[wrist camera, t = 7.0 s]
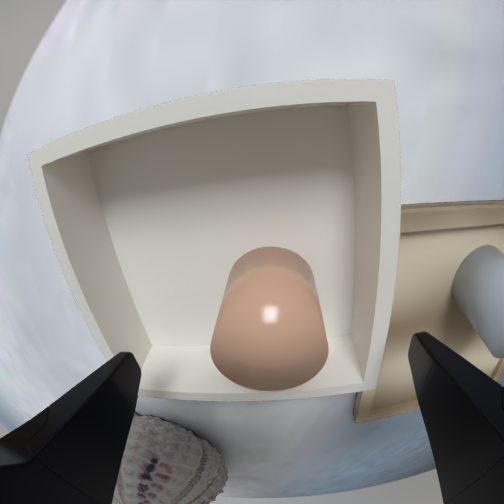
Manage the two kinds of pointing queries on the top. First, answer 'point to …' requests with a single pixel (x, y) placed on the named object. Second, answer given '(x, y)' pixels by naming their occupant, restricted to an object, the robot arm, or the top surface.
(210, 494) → the sea urchin shell
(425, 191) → the top surface
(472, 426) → the robot arm
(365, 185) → the square storage bin
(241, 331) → the peach rounded cylinder
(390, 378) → the parts tray
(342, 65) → the top surface
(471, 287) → the slate pebble
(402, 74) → the top surface
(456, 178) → the top surface
